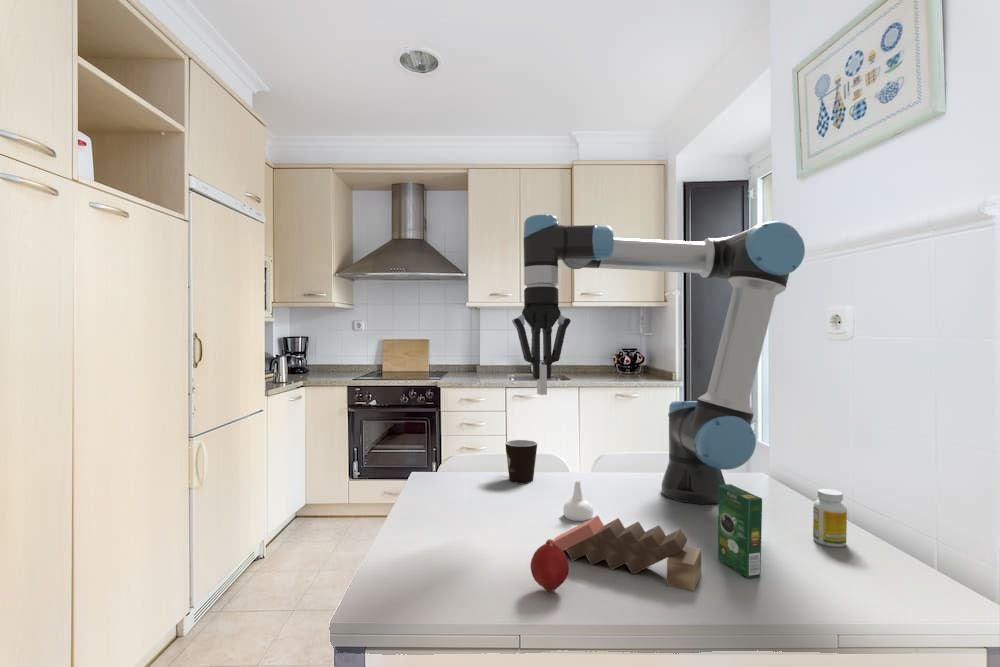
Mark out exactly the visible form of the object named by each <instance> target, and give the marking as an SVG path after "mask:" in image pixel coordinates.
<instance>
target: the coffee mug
mask: <svg viewBox="0 0 1000 667" xmlns="http://www.w3.org/2000/svg"><path fill="white" fill-rule="evenodd" d="M537 449H538V442H537V441H534V440H528V439H527V440H526V439H515V440H514V439H512V440H508V441H506V442H505V451H506V459H507V469H508V478H509V482H511V481H512V482H511V483H513V482H517V483H516V484H521V483H523V484H528V483H527V482H530V483H532V482H533V481H534V476H535V468H536V459H537V451H538V450H537ZM531 481H532V482H531Z"/></svg>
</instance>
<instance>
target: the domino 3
mask: <svg viewBox="0 0 1000 667" xmlns="http://www.w3.org/2000/svg"><path fill="white" fill-rule="evenodd" d="M624 528H625V529H624V530H623V531H622V532H621V533H620V535H619V536H618V537H617V538H615V539H614V540H612V541H610V542H608V543H606V544H604V545H602V546H600V547H598V548H596V549H594V550H593V551H591V552H589V553H587V554H585V555H584V556H586V558H587V560H588V562H589V563H590V565H591V566H593V565H596V564H597V563H600V562H601V561H604V560H605V558H607V557H609V556H611V555H613V554H615V553H617V552H619V551H621V550H623V549H625V548H627V547H629V546H631V545H632V544H634V543H636V542H638V541H639V539H640V538H641V537H642V535H643V534H644V533H645V532H646V530H644V528H643V526H642V525H641V523H640V521H637V522H635V523H632V524H630V525H628V526H627V527H624Z"/></svg>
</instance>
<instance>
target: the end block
mask: <svg viewBox="0 0 1000 667" xmlns="http://www.w3.org/2000/svg"><path fill="white" fill-rule="evenodd" d="M701 574H702V548H699V547H693V546H688V545H685V546H684V548H683V550H682V551H680V552H678V553H676V554H674V555H672V556H670V557H668V558H666V586H670V587H675V588H678V589H683V590H688V591H692V592H695V590H696V587H697V585H698V582H699V580H698V579H700V577H701Z"/></svg>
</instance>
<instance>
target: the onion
mask: <svg viewBox="0 0 1000 667" xmlns="http://www.w3.org/2000/svg"><path fill="white" fill-rule="evenodd" d="M569 571H570V564H569V560H568V558H567V555H566V553H565V552H564V551H562V550H561V549H560V548H559V547H558V546H557V545H555V544H554V542H553V539H550V538H549V539H547V540H546V542H545V543H544V544H542V545H541V546H539V547H538V548H537V549H536V550H535V551H534V554H533V556H532V557H531V560H530V572H531V575H532V577H533V580H534V581H535V582H536V583H537V584H538V585H539V586H541V587H542V588H543V589H544V590H545V591H547V592H549V593H553V592H554V591H555V590H556V589H558V588H559V587H560V586H561V585H562V584H564V582H566V579H567V578H568V577H569V573H570V572H569Z"/></svg>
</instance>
